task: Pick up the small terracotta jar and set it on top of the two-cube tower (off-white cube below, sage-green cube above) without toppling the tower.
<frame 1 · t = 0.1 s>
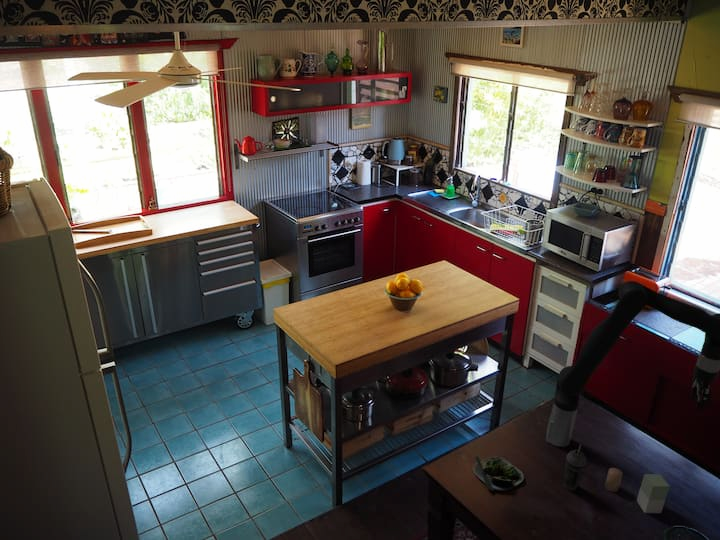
hand: (695, 403, 226), 29 cm above the table, fingers open, 8 cm apart
salad plate: (497, 477, 225), on the table
beverage cup: (569, 486, 222), on the table
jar: (611, 487, 223), on the table
base block: (648, 506, 215), on the table, touching mid block
mid block: (652, 493, 213), point 6 cm above the table, touching base block
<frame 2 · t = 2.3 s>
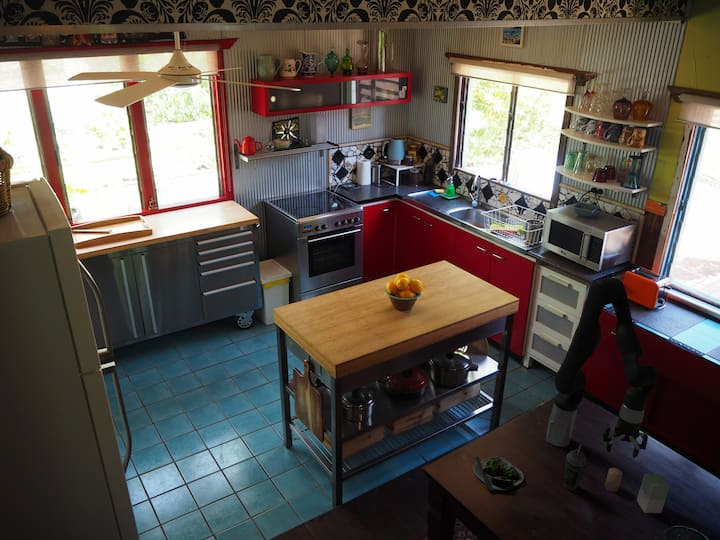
hand: (621, 453, 217), 15 cm above the table, fingers open, 8 cm apart
nothing on the table moved.
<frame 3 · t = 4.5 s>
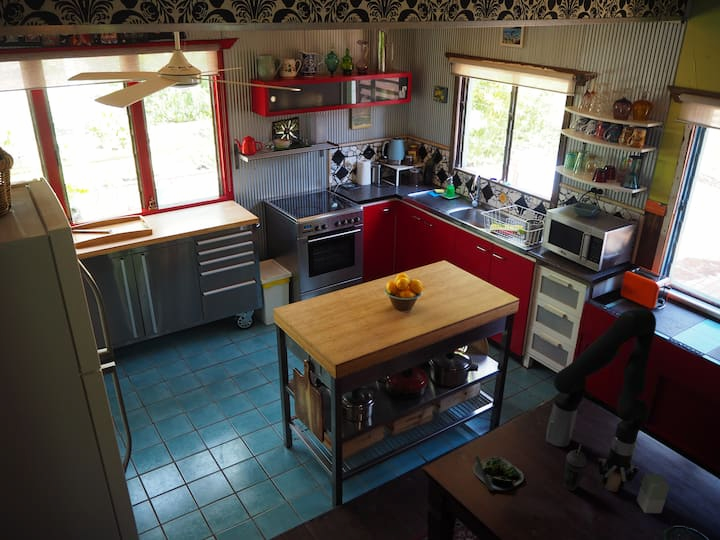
hand: (612, 485, 223), 1 cm above the table, fingers closed on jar, 4 cm apart
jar: (611, 487, 223), on the table, touching gripper
everything else where it was.
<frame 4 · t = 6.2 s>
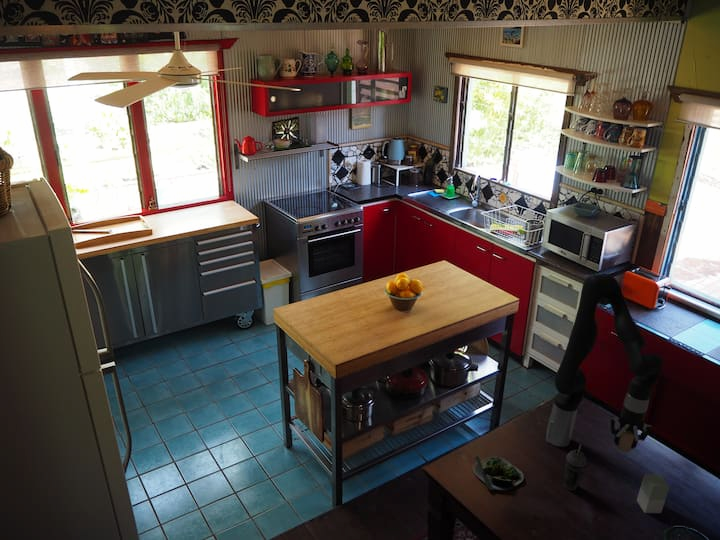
hand: (624, 445, 216), 19 cm above the table, fingers closed on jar, 4 cm apart
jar: (623, 447, 216), point 18 cm above the table, touching gripper
everything else where it was.
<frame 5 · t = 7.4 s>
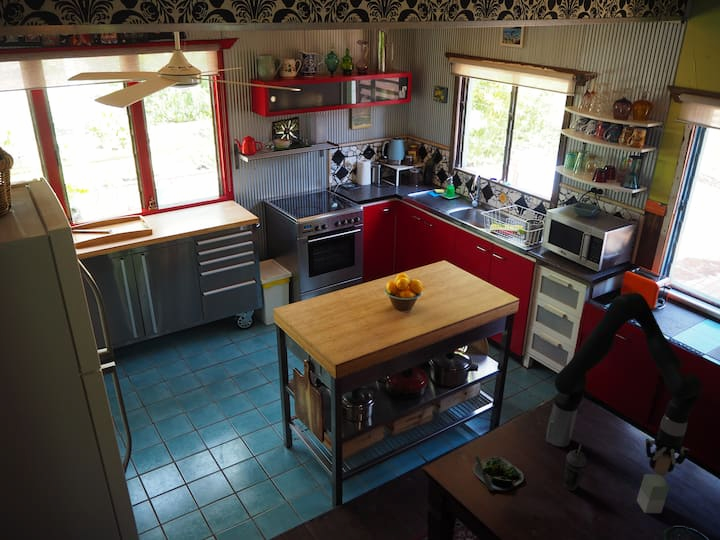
hand: (660, 468, 208), 17 cm above the table, fingers closed on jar, 4 cm apart
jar: (659, 470, 209), point 16 cm above the table, touching gripper
everything else where it was.
when the fingers open (14 cm above the table, at t = 8.3 s): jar stays where it is, resting on mid block.
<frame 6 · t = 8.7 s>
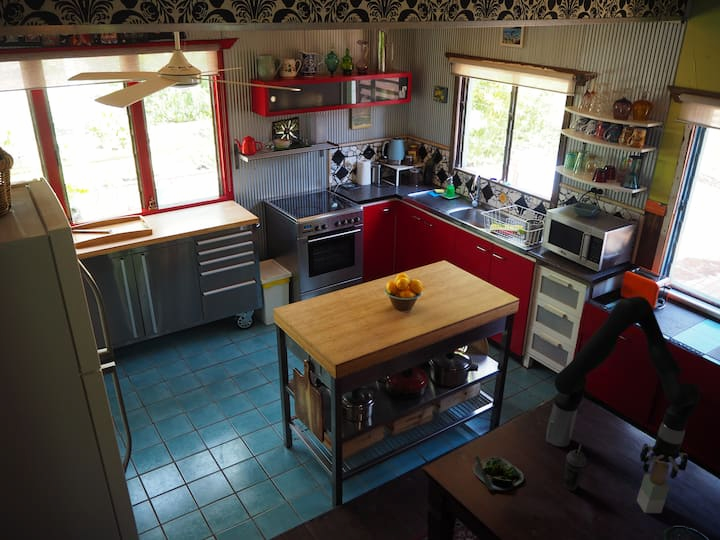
hand: (658, 474, 209), 15 cm above the table, fingers open, 8 cm apart
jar: (656, 480, 210), point 12 cm above the table, touching mid block
mid block: (652, 493, 213), point 6 cm above the table, touching base block, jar
everything else where it was.
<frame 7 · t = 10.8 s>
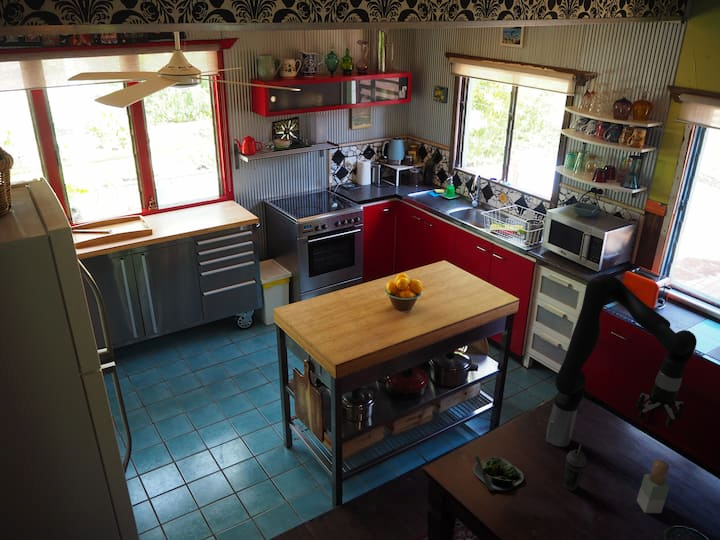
hand: (654, 422, 212), 29 cm above the table, fingers open, 8 cm apart
nothing on the table moved.
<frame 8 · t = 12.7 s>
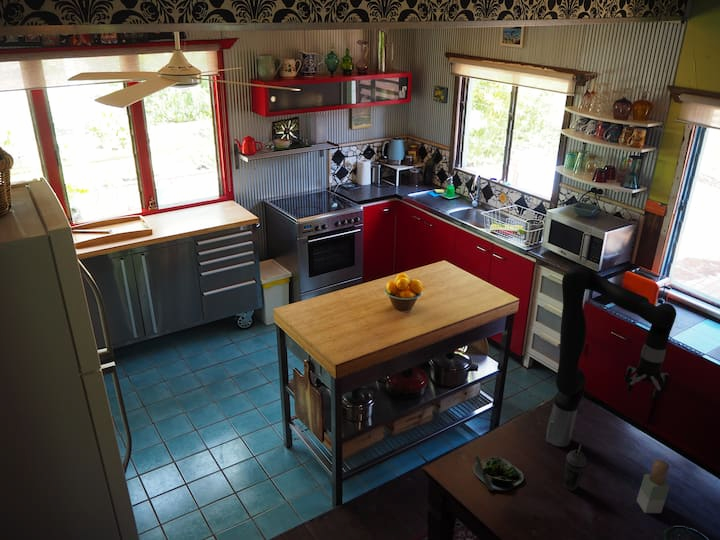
hand: (641, 394, 222), 33 cm above the table, fingers open, 8 cm apart
nothing on the table moved.
at the end: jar 0.1 cm off-centre on the mid block, point 6.0 cm above the mid block's base; mid block tilted 0°; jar tilted 0° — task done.
